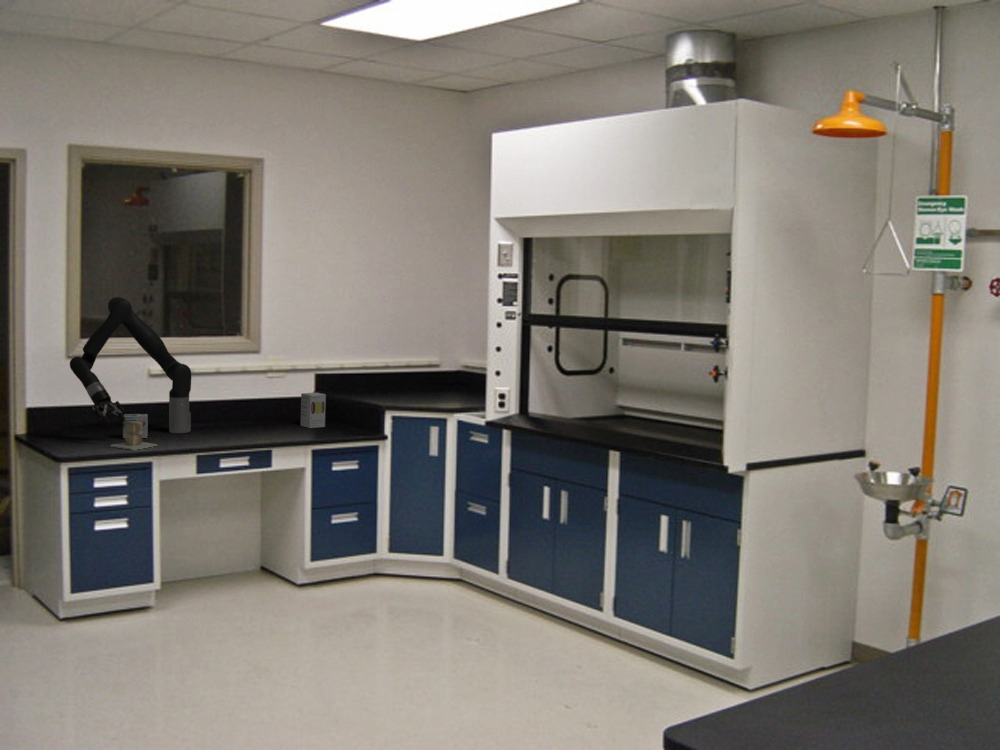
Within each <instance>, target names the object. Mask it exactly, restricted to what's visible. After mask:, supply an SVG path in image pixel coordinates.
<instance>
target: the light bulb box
mask: <svg viewBox="0 0 1000 750" xmlns="http://www.w3.org/2000/svg"><path fill="white" fill-rule="evenodd" d="M123 416H124V417H125V421H124V422H122V439H123V438H125V422H131V421H137V422H142V438H147V439H148V437H147V436H149V435H148V434H149V433H148V429H149V427H148V425H149V424H148V419H149V418H148V417H149V415H148V414H147V413H130V414H129V413H124V415H123Z"/></svg>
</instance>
